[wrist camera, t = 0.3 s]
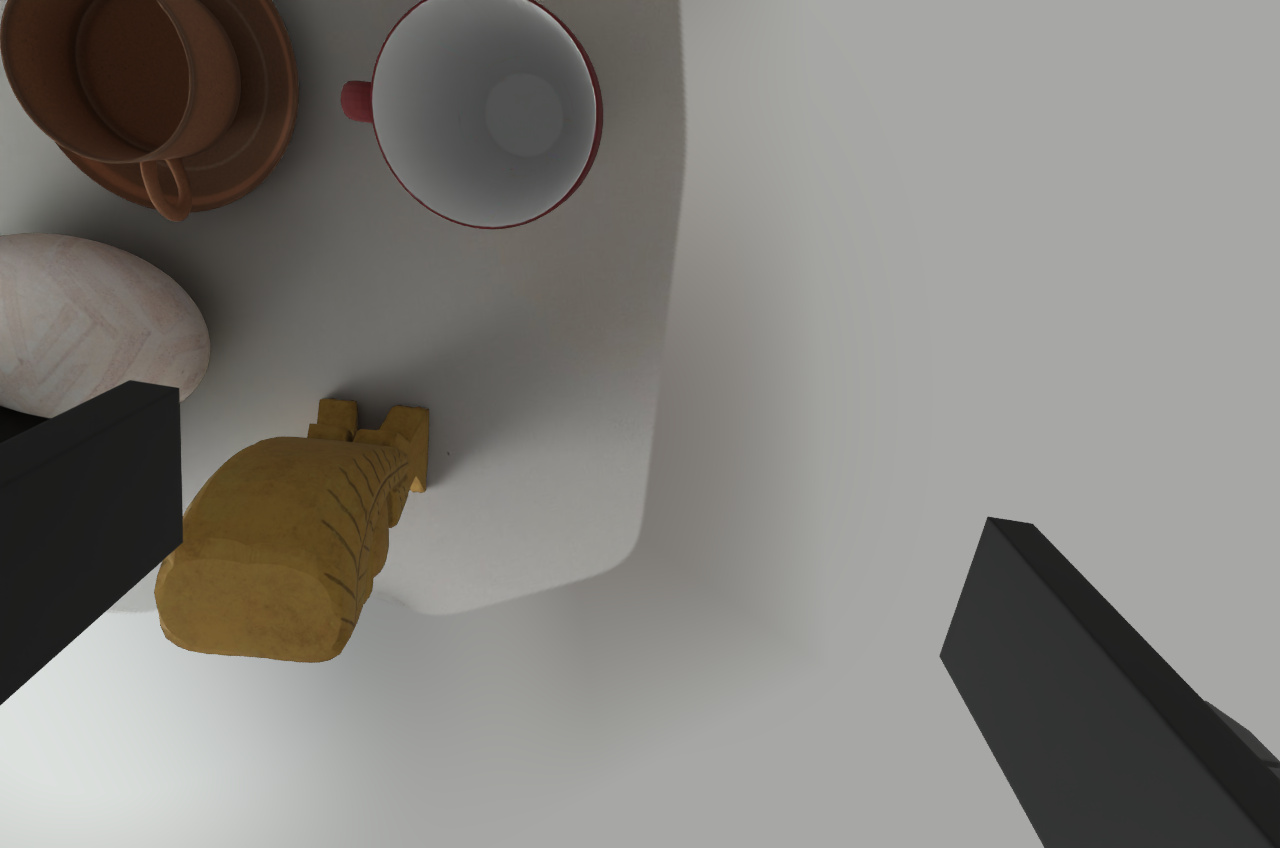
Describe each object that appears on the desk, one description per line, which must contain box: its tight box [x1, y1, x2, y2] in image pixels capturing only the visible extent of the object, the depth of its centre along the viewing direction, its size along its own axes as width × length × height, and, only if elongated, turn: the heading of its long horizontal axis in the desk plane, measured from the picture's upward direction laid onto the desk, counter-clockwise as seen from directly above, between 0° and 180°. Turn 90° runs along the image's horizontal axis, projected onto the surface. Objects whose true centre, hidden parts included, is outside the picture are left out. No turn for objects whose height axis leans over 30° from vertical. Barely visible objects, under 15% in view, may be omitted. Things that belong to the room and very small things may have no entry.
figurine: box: [154, 398, 429, 663], centre depth 37 cm, size 7×7×15 cm
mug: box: [341, 0, 603, 229], centre depth 33 cm, size 10×8×10 cm
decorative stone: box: [0, 233, 210, 418], centre depth 39 cm, size 13×9×5 cm
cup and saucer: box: [0, 0, 299, 222], centre depth 35 cm, size 12×12×6 cm
